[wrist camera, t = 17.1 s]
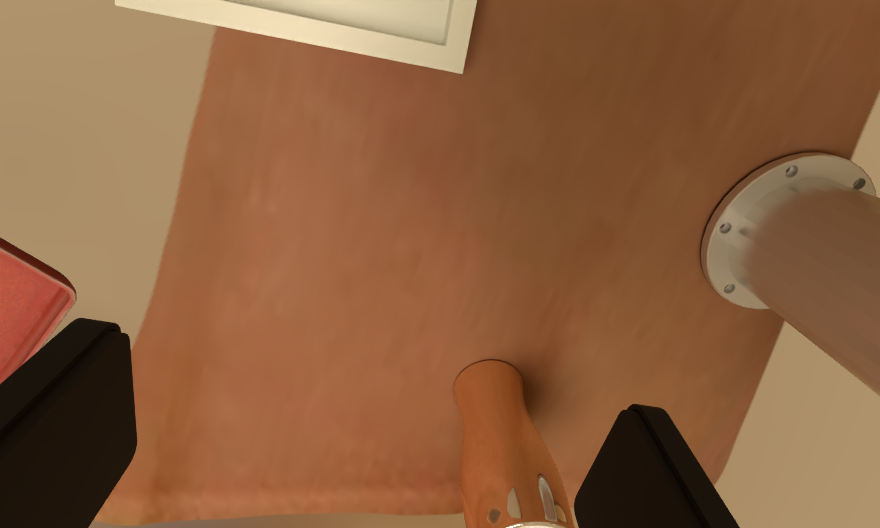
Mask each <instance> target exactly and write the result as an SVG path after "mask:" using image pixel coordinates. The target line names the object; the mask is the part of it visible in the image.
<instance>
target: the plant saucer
mask: <svg viewBox="0 0 880 528" xmlns="http://www.w3.org/2000/svg"><path fill="white" fill-rule="evenodd" d="M75 301H76V291H75V289H74V287H73V285H72V284H71V283H70V281H69V280H68V279H67V278H66V277H65V276H64V275H62V274H61V273H60V272H58V271H57V270H55V269H54V268H52V267H50V266H48V265H47V264H45V263H43V262H41V261H40V260H38V259H36V258H34V257H33V256H31V255H30V254H27V253H26V252H24V251H22V250H21V249H19V248H17V247H15V246H14V245H12V244H10V243H9V242H7V241H5V240H4V239H1V238H0V384H1V383H2V382H3V381H4V380H5V379H7V378H8V377H9V376H10V375H11V374H12V373H13V372H15V371H16V370H17V369H18V368H19V367H20V366H22V365H23V364H24V363H25V362H26V361H27V360H28V359H30V358H31V357H32V356H33V355H34V354H35V353H36V352H38V351H39V350H40V349H41V347H42V346H43V345H44V343H45V342H46V341H47V339H48V338H49V336H50V335H51V334H52V332H53V331H54V330H55V329H56V327H57V326H58V325H59V323H60V322H61V321H62V319H63V318H64V317H65V316H66V314H67V313H68V311H69V310H70V309H71V308H72V306H73V305H74V303H75Z"/></svg>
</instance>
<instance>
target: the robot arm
mask: <svg viewBox="0 0 880 528" xmlns="http://www.w3.org/2000/svg"><path fill="white" fill-rule="evenodd" d="M701 263H702V269H703V271H704V274H705V277H706V279H707V281H708V282H709V283H710V285H711V286H712V288H713V289H714V290H715V291H717V292H718V293H719V294H720V295H721V296H722V297H723V298H725V299H726V300H728V301H730V302H731V303H733V304H736V305H738V306H741V307H744V308H751V309H771V310H773V311H774V312H775V313H776V314H778V315H779V316H780V317H781V318H783V319H784V320H785V321H786V322H788V323H789V324H790V325H792V326H793V327H794V328H795V329H797V330H798V331H799V332H800V333H802V334H803V335H804V336H805V337H807V338H808V339H809V340H810V341H812V342H813V343H814V344H815V345H817V346H818V347H819V348H820V349H822V350H823V351H824V352H826V353H827V354H828V355H829V356H830V357H832V358H833V359H834V360H835V361H837V362H838V363H839V364H840V365H842V366H843V367H844V368H845V369H847V370H848V371H849V372H850V373H852V374H853V375H854V376H855V377H857V378H858V379H859V380H860V381H862V382H863V383H864V384H866V385H867V386H868V387H869V388H871V389H872V390H873V391H874V392H876V393H877V394H878V395H879V396H880V198H878V197H876V191H875V188H874V186H873V183H872V181H871V179H870V177H869V176H868V175H867V174H866V173H865V171H864V170H863V169H862V168H861V167H859V166H858V165H856V164H855V163H853V162H852V161H850V160H847V159H844V158H841V157H839V156H836V155H831V154H826V153H821V152H812V153H800V154H795V155H790V156H786V157H784V158H781V159H778V160H776V161H773V162H770V163H769V164H767V165H765V166H763V167H761V168H760V169H758V170H756V171H754V172H753V173H751V174H750V175H749V176H748V177H746V178H745V179H744V180H742V181H741V182H740V183H738V184H737V185H736V186H735V187H734V188H733V189H732V190H731V191H730V192H729V194H728V195H727V196H726V197H725V198H724V199H723V201H722V202H721V203H720V205H719V206H718V207H717V209H716V210H715V212H714V213H713V215H712V217H711V219H710V221H709V223H708V225H707V228H706V231H705V234H704V237H703V240H702V247H701ZM136 447H137V432H136V418H135V405H134V391H133V377H132V363H131V349H130V339H129V336H128V334H125V333H121V330H120V327H119V325H118V324H116V323H111V322H105V321H98V320H92V319H85V318H78V319H76V320H74V321H73V322H71V323H70V324H69V325H68V326H66V327H65V328H64V329H63V330H62V331H61V332H60V333H58V334H57V335H56V336H55V337H54V338H53V339H51V340H50V341H49V342H48V343H47V344H46V345H45V346H44V347H42V348H41V349H40V350H39V351H38V352H36V353H35V354H34V355H33V356H32V357H31V358H30V359H28V360H27V361H26V362H25V363H24V364H23V365H22V366H20V367H19V368H18V369H17V370H16V371H15V372H13V373H12V374H11V375H10V376H9V377H8V378H7V379H5V380H4V381H3V382H2V383H1V384H0V528H88V527H89V526H90V524H91V522H92V521H93V519H94V518H95V516H96V515H97V513H98V512H99V510H100V509H101V507H102V506H103V504H104V503H105V501H106V499H107V498H108V496H109V495H110V493H111V492H112V490H113V489H114V487H115V486H116V484H117V483H118V481H119V480H120V478H121V476H122V475H123V473H124V472H125V470H126V469H127V467H128V466H129V464H130V462H131V461H132V459H133V456H134V454H135V451H136ZM574 511H575V516H576V520H577V523H578V526H579V528H740V527H739V526H738V524H737V523H736V521H735V519H734V518H733V516H732V515H731V513H730V512H729V510H728V508H727V507H726V505H725V504H724V502H723V500H722V499H721V498H720V496H719V494H718V493H717V491H716V489H715V488H714V486H713V485H712V483H711V481H710V480H709V478H708V477H707V475H706V473H705V472H704V470H703V469H702V467H701V466H700V464H699V462H698V461H697V459H696V458H695V456H694V455H693V453H692V451H691V450H690V448H689V447H688V445H687V443H686V442H685V440H684V439H683V437H682V436H681V434H680V432H679V431H678V429H677V428H676V426H675V424H674V423H673V421H672V420H671V418H670V417H669V415H668V414H667V412H666V411H665V410H664V409H662V408H658V407H652V406H645V405H639V404H632V405H631V406H629V407H628V409H627V410H623V411H621V412H620V414H619V415H618V417H617V419H616V421H615V423H614V425H613V427H612V428H611V430H610V432H609V434H608V436H607V438H606V440H605V442H604V444H603V446H602V447H601V449H600V451H599V453H598V455H597V457H596V459H595V461H594V463H593V465H592V466H591V468H590V470H589V472H588V474H587V476H586V478H585V480H584V482H583V484H582V486H581V487H580V489H579V491H578V493H577V495H576V498H575V502H574Z"/></svg>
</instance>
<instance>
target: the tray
mask: <svg viewBox="0 0 880 528" xmlns="http://www.w3.org/2000/svg"><path fill="white" fill-rule="evenodd" d="M476 3H477V0H115V5H116V6H121V7H127V8H132V9H137V10H142V11H147V12H152V13H157V14H162V15H167V16H172V17H177V18H183V19H188V20H192V21H197V22H202V23H207V24H212V25H217V26H222V27H227V28H233V29H238V30H243V31H248V32H253V33H258V34H263V35H268V36H273V37H278V38H283V39H288V40H293V41H298V42H303V43H308V44H313V45H318V46H323V47H328V48H333V49H339V50H344V51H349V52H354V53H359V54H364V55H369V56H374V57H379V58H384V59H389V60H394V61H399V62H404V63H409V64H414V65H419V66H424V67H429V68H434V69H440V70H445V71H450V72H455V73H460V74H463V69H464V64H465V59H466V54H467V49H468V44H469V39H470V34H471V29H472V24H473V19H474V13H475V8H476Z"/></svg>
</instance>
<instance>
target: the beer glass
mask: <svg viewBox="0 0 880 528" xmlns="http://www.w3.org/2000/svg"><path fill="white" fill-rule="evenodd" d="M454 397H455V400H456V403H457V405H458V408H459V410H460V413H461V416H462V420H463V441H462V453H461V475H460V486H461V498H462V507H463V513H464V520H465V525H466V528H575V527H574V522H573V518H572V514H571V510H570V506H569V502H568V498H567V495H566V492H565V489H564V485H563V482H562V479H561V477H560V474H559V472H558V469H557V466H556V464H555V462H554V460H553V458H552V456H551V454H550V452H549V450H548V448H547V446H546V444H545V443H544V441H543V439H542V437H541V436H540V434H539V432H538V430H537V429H536V427H535V425H534V424H533V422H532V420H531V418H530V416H529V414H528V412H527V409H526V406H525V402H524V389H523V381H522V378H521V376H520V374H519V372H518V371H517V370H516V369H515V368H514V367H513V366H511V365H510V364H508V363H505V362H502V361H497V360H486V361H481V362H477V363H475V364H472V365H470V366H469V367H467V368H466V369H464V370H463V371H462V372H461V373H460V374H459V376H458V377H457V379H456V381H455V384H454Z"/></svg>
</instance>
